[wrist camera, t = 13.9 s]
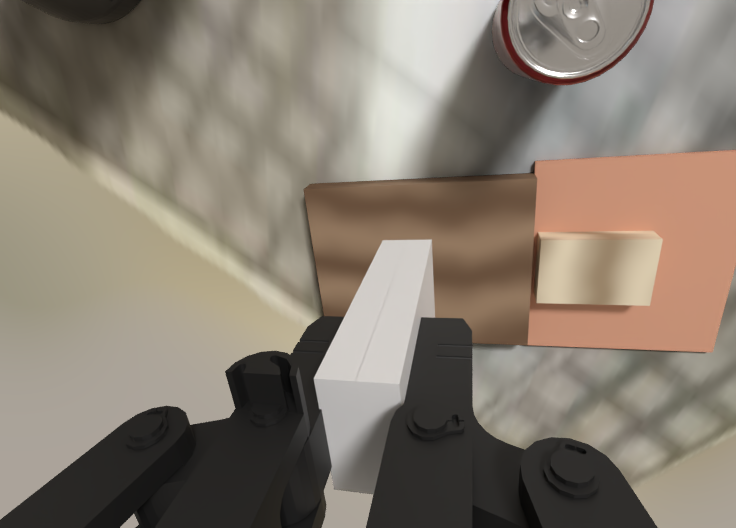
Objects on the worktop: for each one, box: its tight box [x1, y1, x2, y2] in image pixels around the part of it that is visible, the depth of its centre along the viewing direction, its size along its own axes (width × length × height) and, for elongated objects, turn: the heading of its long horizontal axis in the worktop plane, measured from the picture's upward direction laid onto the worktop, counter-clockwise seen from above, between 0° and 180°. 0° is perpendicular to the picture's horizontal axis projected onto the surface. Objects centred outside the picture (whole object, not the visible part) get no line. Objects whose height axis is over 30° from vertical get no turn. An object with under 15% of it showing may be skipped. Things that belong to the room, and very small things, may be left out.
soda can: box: [492, 0, 654, 85], centre depth 27 cm, size 7×7×12 cm
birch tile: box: [534, 231, 663, 306], centre depth 37 cm, size 9×6×2 cm, turn 95°
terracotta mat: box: [528, 150, 736, 352], centre depth 38 cm, size 18×16×1 cm
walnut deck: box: [304, 173, 537, 345], centre depth 41 cm, size 16×20×2 cm
